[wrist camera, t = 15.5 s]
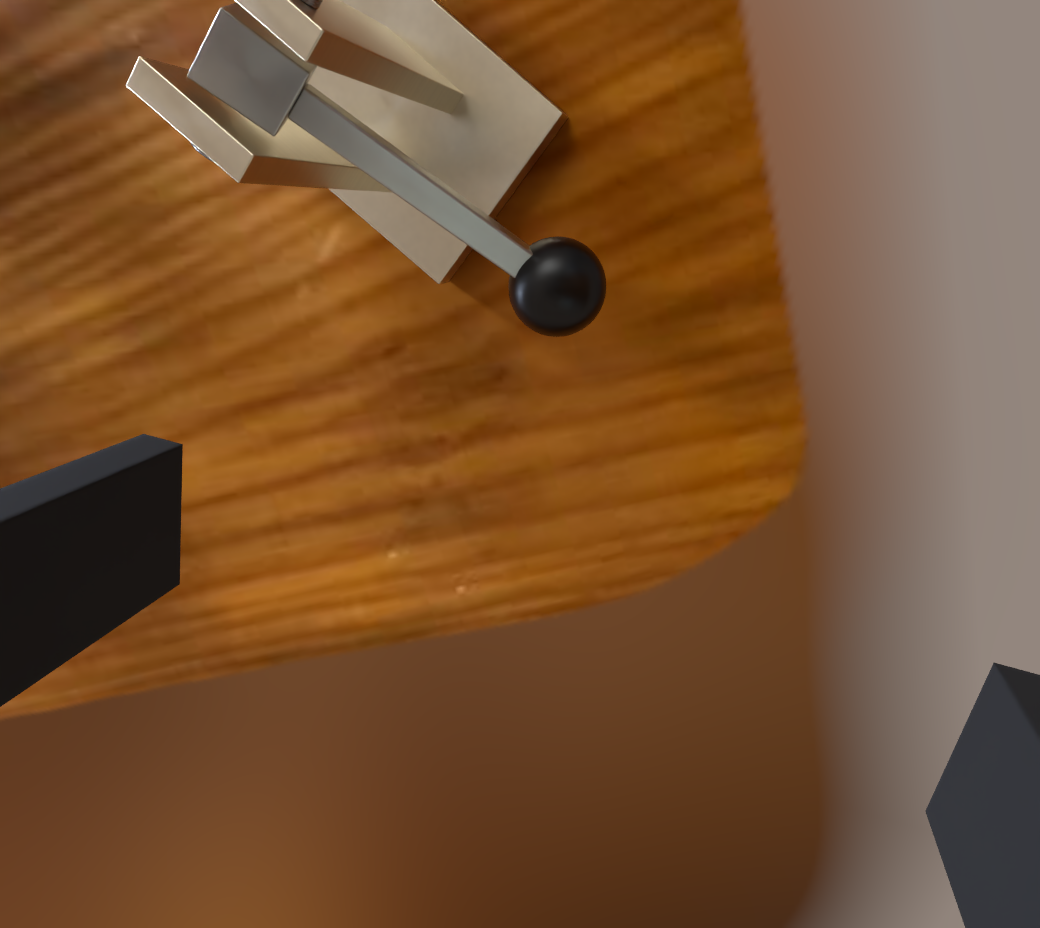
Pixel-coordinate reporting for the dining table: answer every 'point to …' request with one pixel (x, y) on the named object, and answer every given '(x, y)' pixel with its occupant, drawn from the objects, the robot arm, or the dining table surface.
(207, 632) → the dining table surface
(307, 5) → the lever bracket
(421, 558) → the dining table surface
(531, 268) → the lever
